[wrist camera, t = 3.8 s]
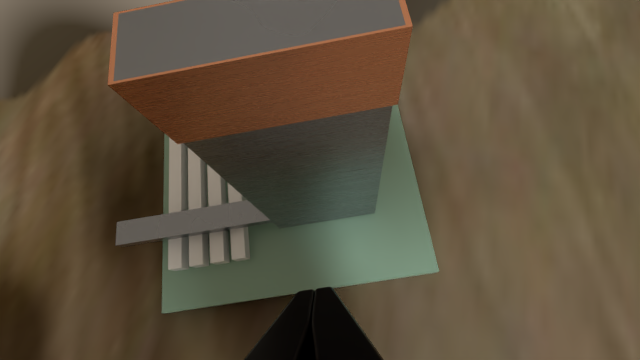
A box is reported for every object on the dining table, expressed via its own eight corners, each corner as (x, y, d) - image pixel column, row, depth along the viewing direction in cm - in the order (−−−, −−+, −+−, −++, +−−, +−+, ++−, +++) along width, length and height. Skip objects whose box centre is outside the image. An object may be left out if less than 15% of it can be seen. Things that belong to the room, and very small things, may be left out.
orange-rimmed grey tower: (377, 213, 18) (412, 26, 6) (133, 253, 19) (-301, 163, 6) (352, 89, 20) (339, -225, 8) (138, 129, 21) (-164, -105, 9)
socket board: (435, 272, 18) (457, 264, 14) (169, 312, 18) (117, 316, 14) (369, 2, 24) (370, -57, 20) (171, 41, 24) (135, -9, 20)
